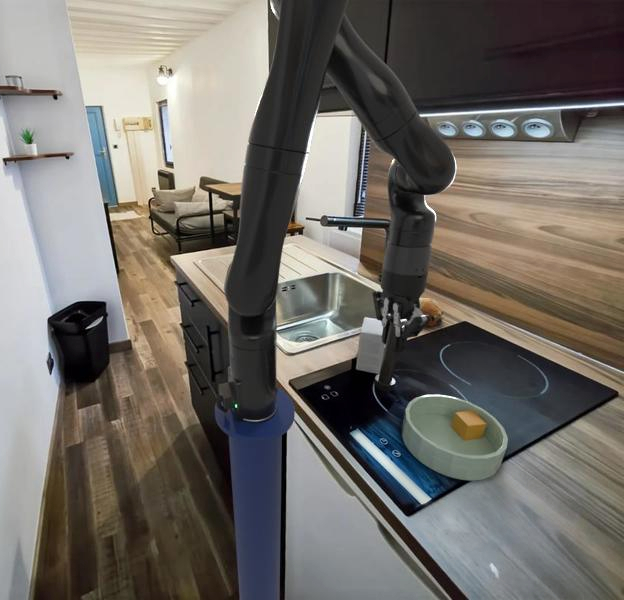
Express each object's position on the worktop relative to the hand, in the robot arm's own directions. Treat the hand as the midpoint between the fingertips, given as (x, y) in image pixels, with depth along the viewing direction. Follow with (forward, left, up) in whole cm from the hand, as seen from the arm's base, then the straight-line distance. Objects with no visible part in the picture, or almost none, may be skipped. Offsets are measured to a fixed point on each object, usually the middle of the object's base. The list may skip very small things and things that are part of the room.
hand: (392, 346), depth 73 cm
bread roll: (+32, +25, -12) cm, 42 cm away
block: (+7, -14, -12) cm, 19 cm away
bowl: (+2, -15, -12) cm, 19 cm away
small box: (+4, +11, -12) cm, 17 cm away
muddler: (-1, 0, -9) cm, 10 cm away
